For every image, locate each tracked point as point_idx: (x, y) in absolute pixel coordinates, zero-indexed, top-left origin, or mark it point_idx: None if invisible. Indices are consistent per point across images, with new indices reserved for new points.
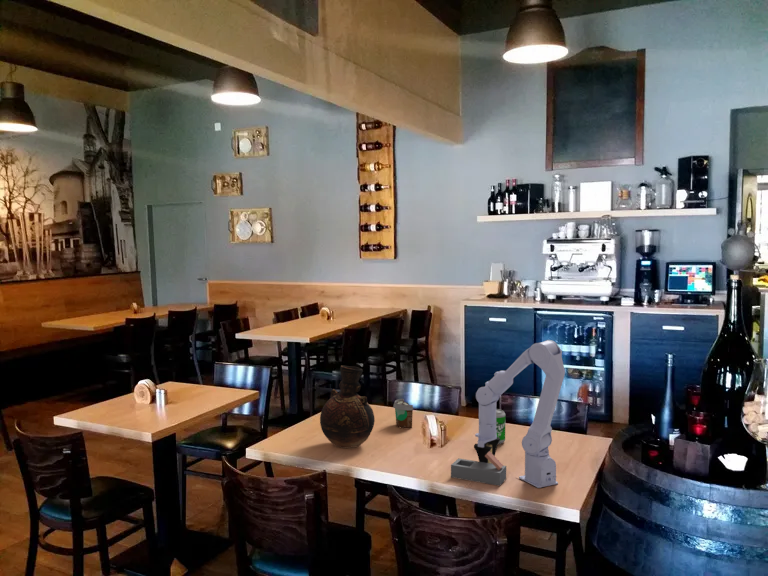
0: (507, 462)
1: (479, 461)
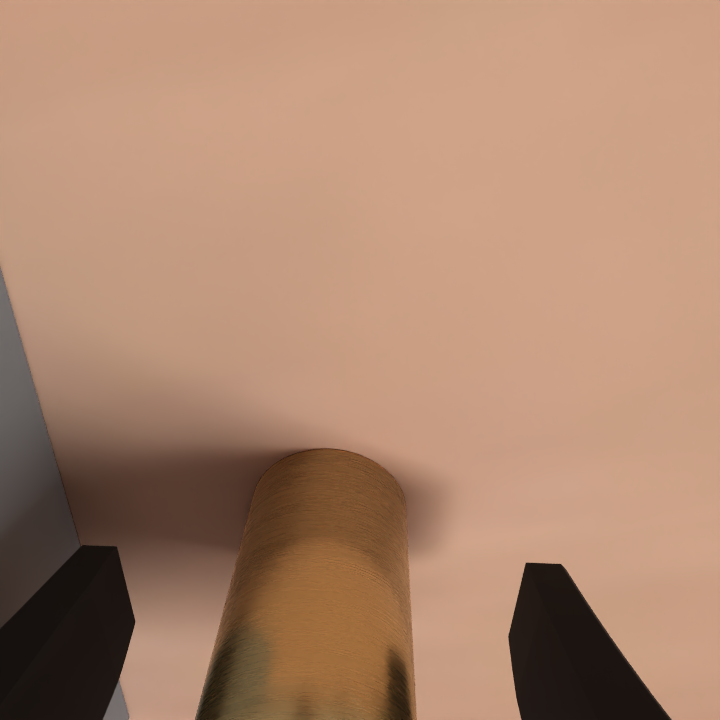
0: (708, 653)
1: (18, 613)
